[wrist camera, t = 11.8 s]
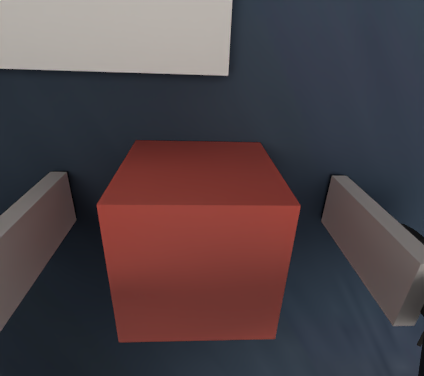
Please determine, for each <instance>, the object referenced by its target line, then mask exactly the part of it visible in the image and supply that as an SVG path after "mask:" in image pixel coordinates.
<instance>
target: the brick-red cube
mask: <svg viewBox="0 0 424 376" xmlns="http://www.w3.org/2000/svg"><path fill="white" fill-rule="evenodd" d="M300 207H301V205H300V204H299V202H298V201H297V199H296V198H295V196H294V194H293V193H292V191H291V190H290V188H289V187H288V185H287V183H286V182H285V180H284V179H283V177H282V176H281V174H280V173H279V171H278V169H277V168H276V166H275V165H274V163H273V162H272V160H271V159H270V157H269V155H268V154H267V152H266V151H265V149H264V148H263V146H262V145H261V143H260V142H209V141H153V140H136V141H135V143H134V144H133V146H132V147H131V149H130V151H129V152H128V154H127V156H126V157H125V159H124V161H123V162H122V164H121V165H120V167H119V169H118V170H117V172H116V174H115V175H114V177H113V179H112V180H111V182H110V183H109V185H108V187H107V188H106V190H105V192H104V193H103V195H102V197H101V198H100V200H99V201H98V203H97V211H98V217H99V223H100V230H101V236H102V242H103V248H104V254H105V260H106V266H107V273H108V279H109V285H110V291H111V297H112V303H113V309H114V316H115V322H116V328H117V334H118V340H119V342H163V341H208V340H252V339H275V336H276V331H277V326H278V321H279V315H280V310H281V305H282V300H283V295H284V290H285V284H286V279H287V274H288V269H289V264H290V259H291V254H292V248H293V243H294V238H295V233H296V228H297V223H298V217H299V212H300Z"/></svg>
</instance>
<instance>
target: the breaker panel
mask: <svg viewBox="0 0 424 376" xmlns="http://www.w3.org/2000/svg"><path fill="white" fill-rule="evenodd" d="M231 16H232V0H0V69H30V70H62V71H94V72H126V73H158V74H190V75H222V76H228V71H229V52H230V34H231Z"/></svg>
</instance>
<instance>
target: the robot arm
mask: <svg viewBox="0 0 424 376" xmlns="http://www.w3.org/2000/svg"><path fill="white" fill-rule="evenodd" d="M75 222H76V215H75V210H74V205H73V200H72V195H71V190H70V185H69V181H68V176H67V172H49V173H48V174H47V175H46V176H45V177H44V178H43V179H42V180H40V181H39V182H38V183H37V184H36V185H35V186H34V187H32V188H31V189H30V190H29V191H28V192H27V193H26V194H24V195H23V196H22V197H21V198H20V199H19V200H18V201H16V202H15V203H14V204H13V205H12V206H11V207H10V208H9V209H7V210H6V211H5V212H4V213H3V214H2V215H1V216H0V332H1V330H2V329H3V327H4V326H5V324H6V323H7V321H8V320H9V319H10V317H11V316H12V314H13V313H14V311H15V310H16V308H17V307H18V305H19V304H20V302H21V301H22V299H23V298H24V297H25V295H26V294H27V292H28V291H29V289H30V288H31V286H32V285H33V283H34V282H35V280H36V279H37V277H38V276H39V275H40V273H41V272H42V270H43V269H44V267H45V266H46V264H47V263H48V261H49V260H50V258H51V257H52V255H53V254H54V252H55V251H56V250H57V248H58V247H59V245H60V244H61V242H62V241H63V239H64V238H65V236H66V235H67V233H68V232H69V230H70V229H71V228H72V226H73V225H74V223H75ZM321 222H322V223H323V225H324V226H325V228H326V229H327V231H328V232H329V234H330V235H331V237H332V238H333V239H334V241H335V242H336V244H337V245H338V247H339V248H340V250H341V251H342V253H343V254H344V255H345V257H346V258H347V260H348V261H349V263H350V264H351V266H352V267H353V268H354V270H355V271H356V273H357V274H358V276H359V277H360V279H361V280H362V282H363V283H364V284H365V286H366V287H367V289H368V290H369V292H370V293H371V295H372V296H373V298H374V299H375V300H376V302H377V303H378V305H379V306H380V308H381V309H382V311H383V312H384V314H385V315H386V316H387V318H388V319H389V321H390V322H391V324H392V325H393V326H414V325H415V323H416V321H417V319H418V317H419V315H420V313H421V314H422V315H423V316H424V237H423V236H422V235H420V234H419V233H418V232H417V231H415V230H414V229H412V228H410V227H408V226H406V225H405V224H400V223H399V222H398V221H397V220H395V219H394V218H393V217H392V216H391V215H390V214H389V213H388V212H387V211H385V210H384V209H383V208H382V207H381V206H380V205H379V204H378V203H376V202H375V201H374V200H373V199H372V198H371V197H370V196H369V195H368V194H366V193H365V192H364V191H363V190H362V189H361V188H360V187H359V186H358V185H356V184H355V183H354V182H353V181H352V180H351V179H350V178H349V177H347V176H335V175H332V177H331V181H330V185H329V190H328V194H327V198H326V202H325V207H324V211H323V215H322V219H321ZM422 343H423V344H422ZM417 345H418V346H420V347H421V345H422V351H421V359H420V366H419V374H418V376H424V332H423V334H422V335H421V337H420V339H419V341H418V343H417Z"/></svg>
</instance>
